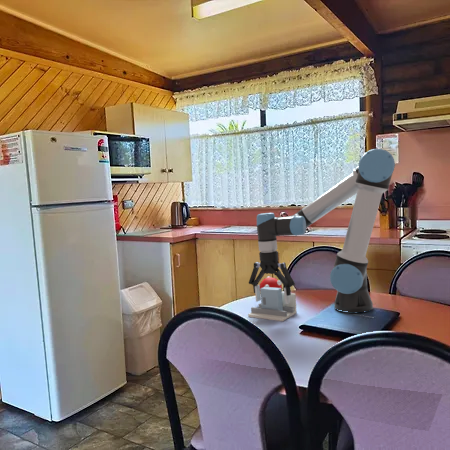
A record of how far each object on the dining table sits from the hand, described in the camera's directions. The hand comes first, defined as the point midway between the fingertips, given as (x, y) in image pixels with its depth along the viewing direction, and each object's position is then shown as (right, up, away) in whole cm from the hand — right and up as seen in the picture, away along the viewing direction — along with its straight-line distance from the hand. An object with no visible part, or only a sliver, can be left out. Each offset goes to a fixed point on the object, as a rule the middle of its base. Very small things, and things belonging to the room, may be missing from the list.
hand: (272, 302), depth 171 cm
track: (0, -5, +1) cm, 5 cm away
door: (0, -4, 0) cm, 4 cm away
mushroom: (+1, -4, +18) cm, 18 cm away
